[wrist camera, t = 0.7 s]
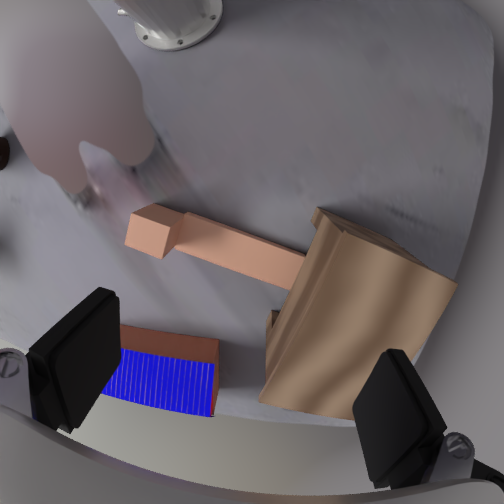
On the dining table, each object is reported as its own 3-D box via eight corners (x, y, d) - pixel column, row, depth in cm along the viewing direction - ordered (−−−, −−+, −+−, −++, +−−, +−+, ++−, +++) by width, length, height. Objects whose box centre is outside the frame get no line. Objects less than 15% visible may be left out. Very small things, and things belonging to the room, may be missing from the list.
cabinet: (262, 322, 42) (258, 402, 27) (314, 201, 36) (347, 233, 21) (341, 346, 43) (366, 421, 28) (399, 239, 37) (462, 286, 22)
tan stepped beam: (145, 233, 39) (123, 248, 32) (154, 199, 37) (132, 209, 30) (290, 286, 40) (294, 310, 33) (304, 254, 38) (311, 274, 32)
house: (108, 319, 44) (74, 359, 33) (221, 337, 44) (208, 388, 32) (119, 370, 48) (94, 412, 37) (220, 389, 47) (211, 439, 36)
